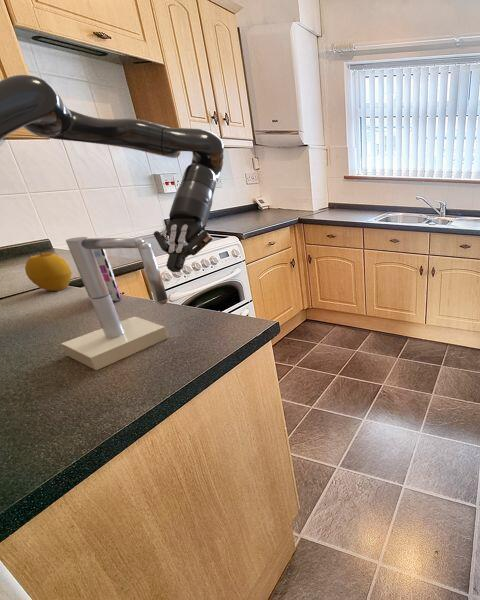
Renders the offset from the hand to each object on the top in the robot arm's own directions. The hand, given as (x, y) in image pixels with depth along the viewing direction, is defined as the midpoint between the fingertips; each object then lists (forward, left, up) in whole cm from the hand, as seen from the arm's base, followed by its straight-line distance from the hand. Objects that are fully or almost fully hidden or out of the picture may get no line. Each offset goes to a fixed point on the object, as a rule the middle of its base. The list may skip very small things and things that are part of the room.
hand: (173, 270), depth 74 cm
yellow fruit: (-1, +64, -15) cm, 66 cm away
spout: (-9, +2, -5) cm, 10 cm away
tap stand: (-11, +7, -15) cm, 20 cm away
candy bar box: (+3, +41, -15) cm, 44 cm away
